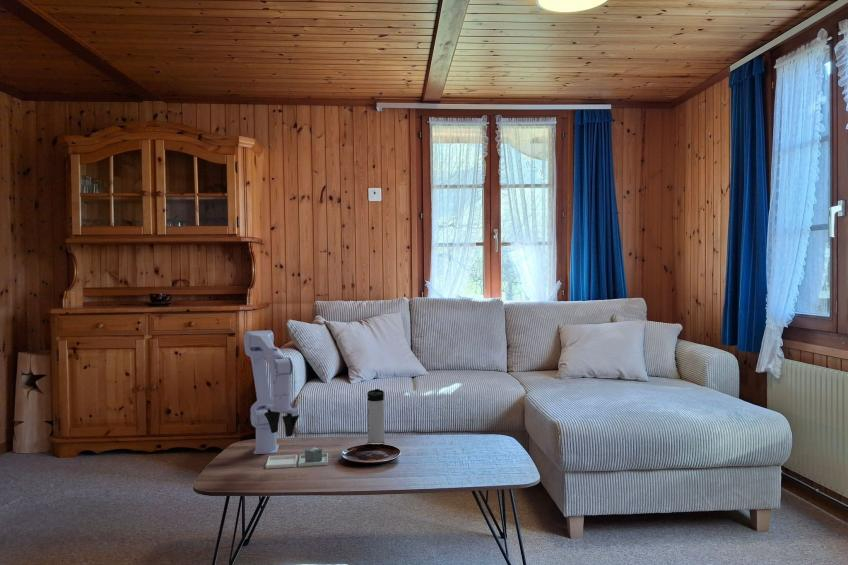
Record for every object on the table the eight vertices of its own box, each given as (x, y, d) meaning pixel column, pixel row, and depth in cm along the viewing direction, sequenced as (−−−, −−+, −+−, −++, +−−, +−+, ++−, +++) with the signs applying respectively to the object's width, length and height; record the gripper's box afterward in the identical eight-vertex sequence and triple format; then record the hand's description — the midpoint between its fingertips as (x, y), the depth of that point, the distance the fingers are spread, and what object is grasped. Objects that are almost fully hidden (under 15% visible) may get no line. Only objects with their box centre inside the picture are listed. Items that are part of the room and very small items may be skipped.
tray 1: (269, 459, 193) (269, 456, 193) (297, 458, 195) (297, 454, 195) (265, 469, 184) (265, 465, 184) (295, 467, 185) (295, 463, 185)
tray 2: (300, 457, 195) (300, 454, 195) (328, 456, 196) (328, 452, 196) (298, 467, 185) (298, 463, 185) (327, 465, 187) (327, 461, 187)
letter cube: (305, 461, 190) (305, 449, 190) (313, 458, 194) (313, 446, 194) (313, 463, 188) (313, 451, 188) (322, 460, 191) (321, 448, 191)
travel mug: (385, 441, 214) (385, 388, 214) (382, 446, 207) (382, 392, 207) (369, 440, 215) (369, 388, 214) (366, 445, 208) (365, 392, 208)
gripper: (258, 393, 190) (258, 433, 190) (286, 399, 181) (286, 440, 182) (274, 390, 196) (275, 428, 196) (302, 395, 187) (303, 435, 187)
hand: (281, 434), depth 189 cm, fingers open, 7 cm apart
